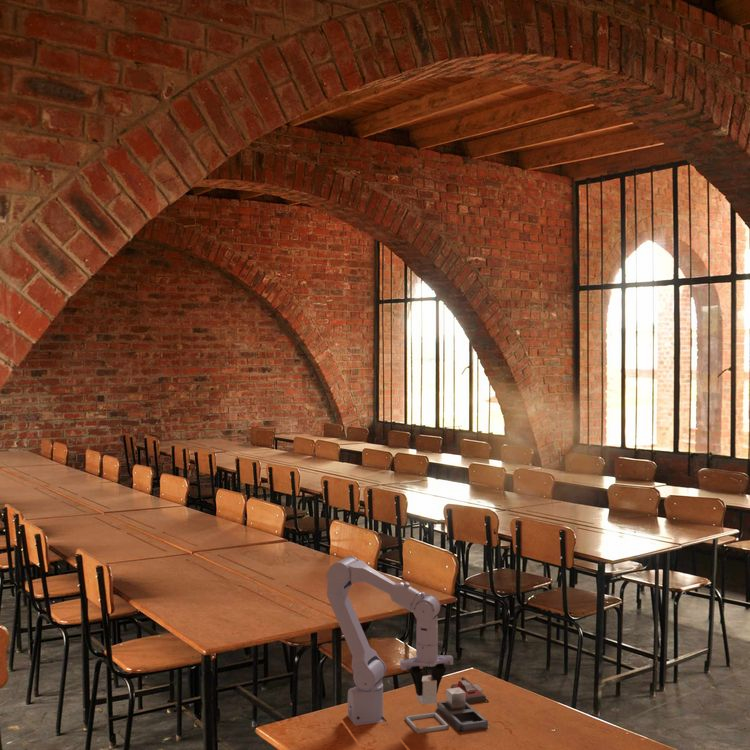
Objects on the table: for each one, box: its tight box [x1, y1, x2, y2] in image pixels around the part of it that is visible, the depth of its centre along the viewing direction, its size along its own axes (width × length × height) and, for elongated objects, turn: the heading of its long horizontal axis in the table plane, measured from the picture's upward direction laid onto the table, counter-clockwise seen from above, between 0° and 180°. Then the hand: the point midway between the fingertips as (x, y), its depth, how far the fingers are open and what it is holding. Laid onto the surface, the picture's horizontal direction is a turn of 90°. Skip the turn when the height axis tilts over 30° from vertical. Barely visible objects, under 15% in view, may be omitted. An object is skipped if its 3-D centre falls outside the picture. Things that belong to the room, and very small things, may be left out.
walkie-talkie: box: [450, 676, 490, 704], centre depth 245 cm, size 9×4×20 cm
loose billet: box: [416, 674, 438, 706], centre depth 222 cm, size 4×4×6 cm
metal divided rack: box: [434, 700, 490, 733], centre depth 225 cm, size 9×16×3 cm, turn 19°
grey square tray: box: [404, 711, 450, 734], centre depth 222 cm, size 9×9×2 cm
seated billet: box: [445, 687, 466, 712], centre depth 229 cm, size 4×4×6 cm
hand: (426, 693), depth 222 cm, fingers closed on loose billet, 4 cm apart
